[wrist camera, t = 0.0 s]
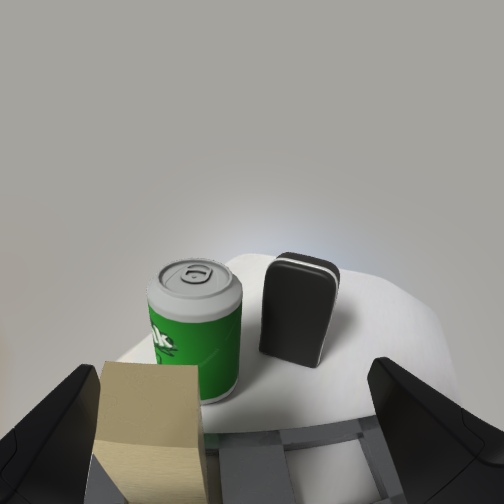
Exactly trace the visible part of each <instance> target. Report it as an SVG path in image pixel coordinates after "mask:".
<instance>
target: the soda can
mask: <svg viewBox="0 0 504 504" xmlns="http://www.w3.org/2000/svg"><path fill="white" fill-rule="evenodd" d="M146 291H147V298H148V306H149V314H150V321H151V328H152V335H153V341H154V347H155V353H156V359H157V364H160V365H198V375H199V389H200V401H201V405H204V404H209V403H213V402H217V401H219V400H221V399H223V398H225V397H226V396H228V395H229V394H230V393H231V392H232V390H233V389H234V388H235V386H236V383H237V381H238V371H239V352H240V334H241V315H242V297H243V291H242V284H241V282H240V281H239V279H238V278H237V277H236V276H235V275H234V274H232V272H231V271H230V270H229V268H228V267H226V266H225V265H223V264H222V263H219V262H216V261H214V260H209V259H202V258H189V259H181V260H177V261H173V262H170V263H168V264H167V265H164V266H163V267H162V268H161V269H160V270H159V271H158V272H157V275H155V277H153V278H152V279H151V280H150V282H149V284H148V287H147V290H146Z"/></svg>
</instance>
